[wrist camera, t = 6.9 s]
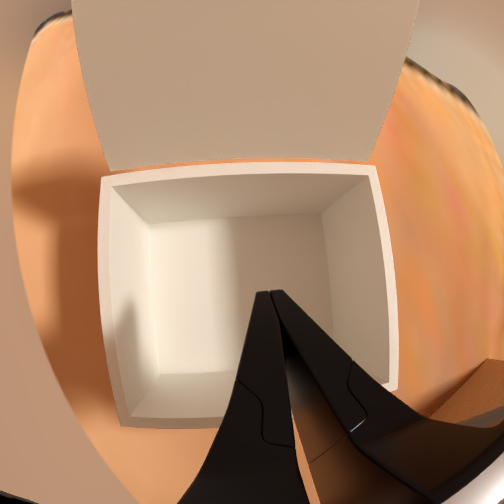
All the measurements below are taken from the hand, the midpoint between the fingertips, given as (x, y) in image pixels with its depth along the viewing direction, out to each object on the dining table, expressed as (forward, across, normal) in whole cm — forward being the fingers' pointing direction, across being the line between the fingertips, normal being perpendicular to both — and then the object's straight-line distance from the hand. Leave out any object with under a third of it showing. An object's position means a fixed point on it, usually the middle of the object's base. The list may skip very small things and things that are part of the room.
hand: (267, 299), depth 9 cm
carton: (+8, 0, +8) cm, 11 cm away
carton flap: (+4, 0, -8) cm, 9 cm away
